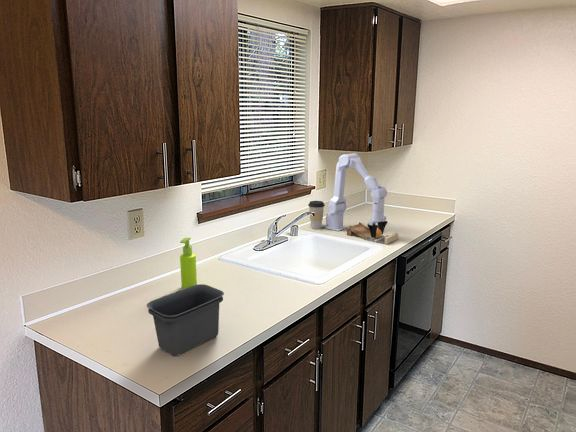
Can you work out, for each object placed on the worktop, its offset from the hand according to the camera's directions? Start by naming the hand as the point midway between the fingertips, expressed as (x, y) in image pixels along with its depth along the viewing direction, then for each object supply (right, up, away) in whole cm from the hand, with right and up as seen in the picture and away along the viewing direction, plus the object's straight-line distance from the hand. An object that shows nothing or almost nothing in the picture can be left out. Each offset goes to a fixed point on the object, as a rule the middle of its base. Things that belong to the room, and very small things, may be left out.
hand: (376, 235), depth 245 cm
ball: (0, +1, 0) cm, 1 cm away
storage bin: (-78, -28, -104) cm, 133 cm away
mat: (+2, -2, -1) cm, 3 cm away
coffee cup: (-31, +3, +21) cm, 38 cm away
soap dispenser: (-86, -18, -64) cm, 108 cm away
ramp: (-7, -1, +6) cm, 9 cm away
